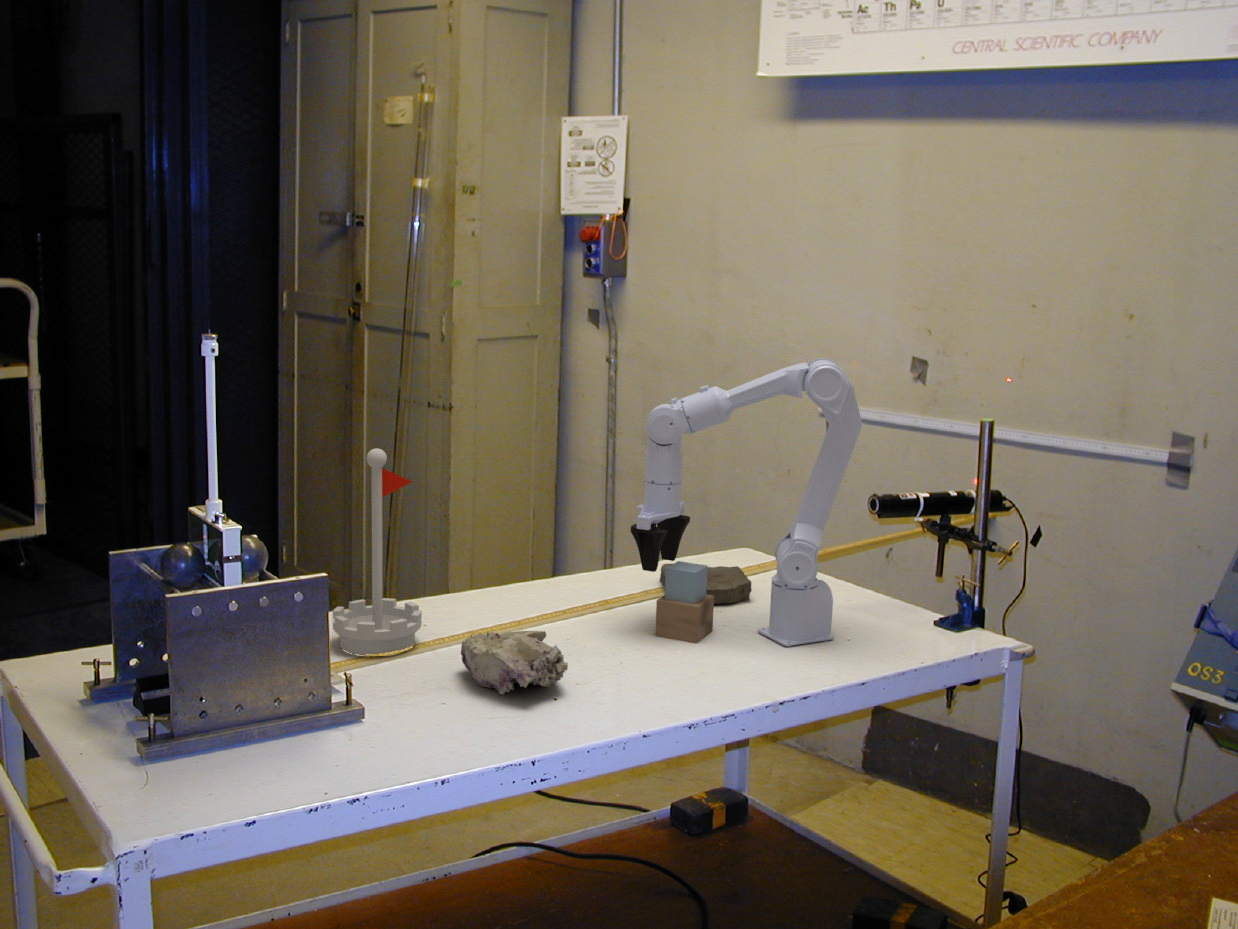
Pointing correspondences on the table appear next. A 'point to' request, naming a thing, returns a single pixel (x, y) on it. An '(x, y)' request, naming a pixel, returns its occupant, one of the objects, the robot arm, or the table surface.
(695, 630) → the wood grain block
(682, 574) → the slate cube
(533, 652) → the geode
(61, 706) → the table surface
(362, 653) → the flag stand
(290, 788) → the table surface
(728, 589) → the flat brown rock
